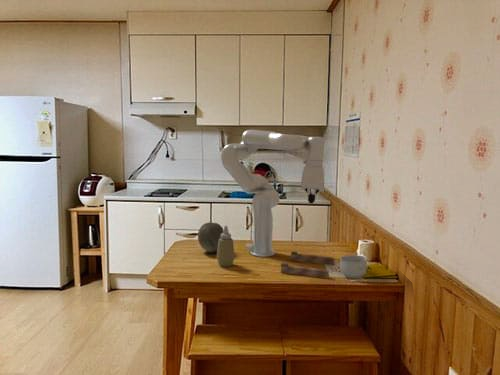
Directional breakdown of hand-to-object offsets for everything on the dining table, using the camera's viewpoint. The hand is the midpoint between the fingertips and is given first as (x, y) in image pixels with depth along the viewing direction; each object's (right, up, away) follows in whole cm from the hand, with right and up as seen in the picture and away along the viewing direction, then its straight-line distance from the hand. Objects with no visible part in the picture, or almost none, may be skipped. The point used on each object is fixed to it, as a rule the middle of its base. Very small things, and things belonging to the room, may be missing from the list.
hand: (311, 202), depth 181 cm
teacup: (+15, -30, -16) cm, 38 cm away
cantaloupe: (-48, -26, +16) cm, 57 cm away
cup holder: (-2, -29, -8) cm, 30 cm away
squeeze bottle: (-40, -28, -5) cm, 49 cm away
